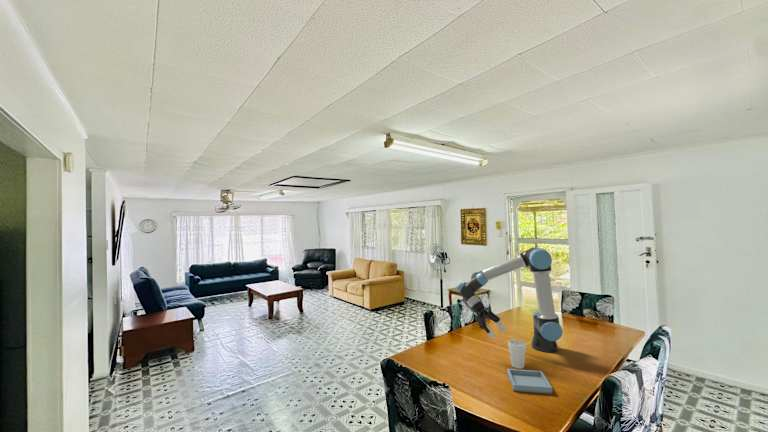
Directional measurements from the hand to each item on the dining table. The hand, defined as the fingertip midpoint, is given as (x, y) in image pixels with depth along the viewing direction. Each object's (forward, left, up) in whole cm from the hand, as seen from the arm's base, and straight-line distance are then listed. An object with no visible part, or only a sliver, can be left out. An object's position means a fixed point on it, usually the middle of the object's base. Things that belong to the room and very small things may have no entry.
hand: (499, 334), depth 182 cm
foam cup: (-8, +6, -15) cm, 18 cm away
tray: (-9, +26, -15) cm, 31 cm away
